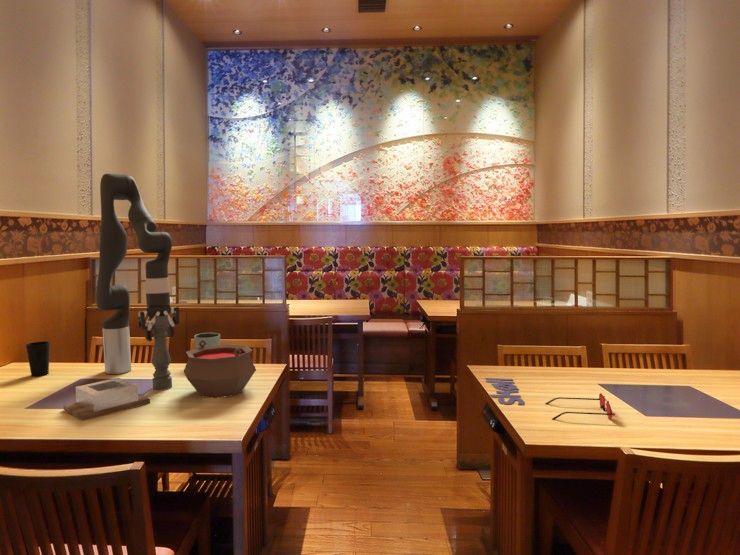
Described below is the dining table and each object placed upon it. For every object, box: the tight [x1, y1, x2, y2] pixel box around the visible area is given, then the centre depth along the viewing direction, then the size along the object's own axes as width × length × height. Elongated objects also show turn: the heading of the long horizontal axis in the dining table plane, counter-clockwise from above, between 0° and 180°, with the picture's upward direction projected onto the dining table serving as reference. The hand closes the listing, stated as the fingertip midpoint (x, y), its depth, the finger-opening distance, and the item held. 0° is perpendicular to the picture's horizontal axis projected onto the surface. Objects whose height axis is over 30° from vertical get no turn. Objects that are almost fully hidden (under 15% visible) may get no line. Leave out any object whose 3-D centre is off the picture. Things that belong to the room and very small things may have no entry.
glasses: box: [544, 392, 616, 421], centre depth 154 cm, size 14×16×5 cm
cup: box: [25, 341, 51, 378], centre depth 203 cm, size 8×8×12 cm
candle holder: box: [150, 315, 173, 391], centre depth 184 cm, size 6×6×25 cm
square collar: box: [74, 377, 139, 412], centre depth 165 cm, size 13×13×5 cm
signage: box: [484, 377, 525, 406], centre depth 176 cm, size 28×1×10 cm
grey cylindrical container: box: [193, 332, 221, 349], centre depth 216 cm, size 10×10×12 cm
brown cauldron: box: [183, 339, 257, 399], centre depth 179 cm, size 24×24×16 cm
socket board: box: [62, 393, 151, 421], centre depth 165 cm, size 14×20×2 cm
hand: (160, 339), depth 183 cm, fingers open, 7 cm apart
